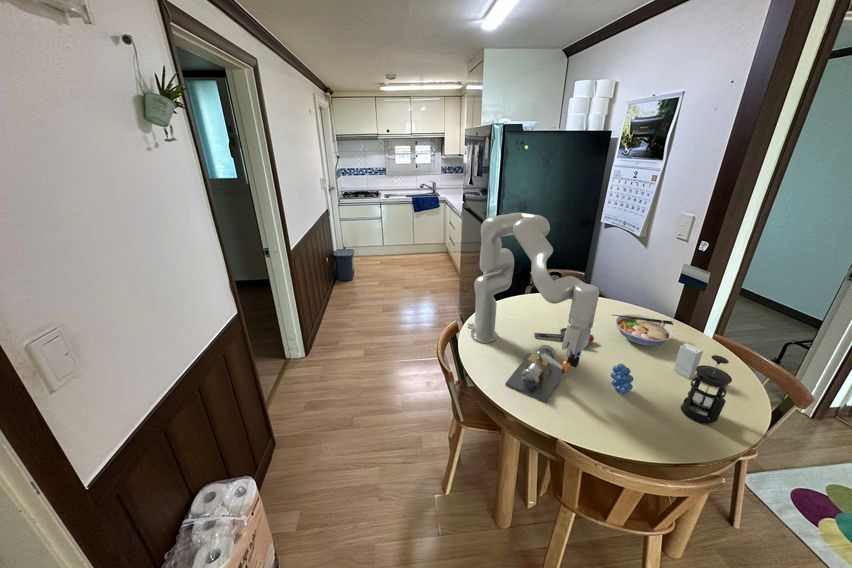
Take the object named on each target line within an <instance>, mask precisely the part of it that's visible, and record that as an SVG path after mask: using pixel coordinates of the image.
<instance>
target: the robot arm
mask: <svg viewBox="0 0 852 568" xmlns="http://www.w3.org/2000/svg"><path fill="white" fill-rule="evenodd" d="M550 226H551V225H550V223H549V220H548V219H547V218H546V217H544V216H542V215H541V214H540V215H539V214H533V213H525V212H513V213H507V214H500V215H495V216H491V217H487V218H486V219H485V220H484V221H483V222H482V223H481V226H480V239H481V242H480V243H481V244H480V252H479V253H480V254H479V269H480V271H481V272H482V273H483V275H480V276H478V277H477V278H476V279H475V281H474V282H473V283H474V293H475V294H474V295H475V305H474V306H475V311H474V312H475V313H474V323H473V322H470V321H469V322H468V323H467V329H470V330H471V333H470V337H471V339H472V340H474V341H476V342H477V343H481V344H489V343H490V344H491V343H493V342H495V341H497V339H498V333H497V331H496V318H497V317H496V316H497V304H498V303H497V300H496V298H494V295H496V294H498V293H501V292H505V291H507V290H508V289H509V288H510V287H511V285H512V282H513V281H512V279H513V275H514V267H515V258H514V254H513V252H512V251H511V250H510V249H508V248H505V247H504V248H503V244H502V239H501V238H502V237H508V236H514V237H515V239H516V240H517V242H518V244H519V245H520V246H521V248H522V249H523V251H524V252H525V254H526V256H527V257H528V258H529V260H530V261H531V262H530V263H531V266H530V267H531V278H532V279H531V280H532V281H533V285H534V286H535V288H536V289H537V290H538V292H539V294H540V296H542V297H543V298H542V299H544V300H545V301H546V302H548V303H550V304H554V305H555V304H556V305H557V304H560V303H562V302H565V301H567V300H571V303H570V308H569V309H570V310H569V315H568V320H567V324H568V325H567V327H566V328H567V329H566V330H565V332H564V333H565V335H564V339H563V341H562V344H561V349H562V350H563V351H564V350H566V352H565V357H567V360H568V361H570V362H571V364H570V367H572V368H574V369H576V368H577V367H579V362H580V358H581V357H580V356H581V355H582V351H583V350H584V349H585V348H586V347H587V346H588V345H589V343H590V342H589V338H590V335H591V331H592V328H593V327H594V321H595V316H596V310H597V306H598V302H599V296H600V290H599V288H598V287H597V286H595V285H593V284H589V283H585V282H584V281H582V280H581V279H579V278H577V277H576V276H573V275H567V276H564V277H560V278H558V279H555V280H554V279H553V278H552V276H551V275H550V273H549V271H548V268H547V261H548V259H549V258H550V257H551V255H552V254H553V252H554V248H553V246H552V245H551V243H550V242H549V241H548V239H547V238H546V237H547V236H548V234H549V233H550V230H551V229H550V228H551V227H550Z"/></svg>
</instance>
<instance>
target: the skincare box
mask: <svg viewBox="0 0 852 568" xmlns="http://www.w3.org/2000/svg"><path fill="white" fill-rule="evenodd" d="M703 353H704V350H702V349H700V348H698V347H695V346H694V345H692V344H689V343H684V344H681V345H680V347H679V350H678V354H677V355H676V356H677V357H676V359H675V364H674V366H673V369H672V371H673V372H675V373H677V374H679V375H681V376H682V377H684V378H686V379H688V380H690V379H693V378H695V376H696V373H697V371H696V368H697V367H698V366H699V364H700V361H701V358H702V355H703Z"/></svg>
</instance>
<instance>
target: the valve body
mask: <svg viewBox="0 0 852 568" xmlns="http://www.w3.org/2000/svg"><path fill="white" fill-rule="evenodd" d="M538 350H543V351H544V352H545V354H547V355H548V356H550V357H551V358H552V359H554V360H555V358H556V356H557V354H556V350H555V349H554V347H552V346H550V345H548V344H543V345H541V346H540V347H539V349H538ZM536 354H537V350H533V351H532V353H531V352H529V353H528V354H527V355H526V356H525V358H523V360H522V362H521V363H520V364H519V365H518V367H516V369H515V370H514V371H513V373H512V374H511V375H510V376H509V378H508V379H507V381H506V382H505V384H504V385H505V386H506V387H508V388H510V389H512V390H515V391H516V392H519V393H522V394H524V395H527V396H529V397H530V398H534V399H535V400H538V401H540V402H542V403H544V404H548V403H549V400H550V399H551V397H552V395H553V394H554V392H555V390H556V389H557V386H558V385H559V383H560V381H561V380H562V378H563V376H564V374H563V373H562V372H561V371H560V370H558V369H557V368H556V367H554V366H553V365H552V364H550V363H549V362H548V361H546V360H545V359H544V358H540V357H537V355H536ZM560 364H561V365H563V363H560Z"/></svg>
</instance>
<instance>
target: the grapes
mask: <svg viewBox="0 0 852 568" xmlns="http://www.w3.org/2000/svg"><path fill="white" fill-rule="evenodd" d="M631 372H632V370H631V369H630V368H629V367H627V366H626V365H625V364H623V363H618V364H617V365H614V366H613V367H612V372H611V373H610V377H611V378H612V379H613V380H612V381H611V383H610V384H611V385H612V386H613V387H614V390H615V392H616V393H619V394H622V395H628V394H629V392H630V391H631V390H632V389H634V386H633V384H632V383H633V381H634V377H633V375H631Z"/></svg>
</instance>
